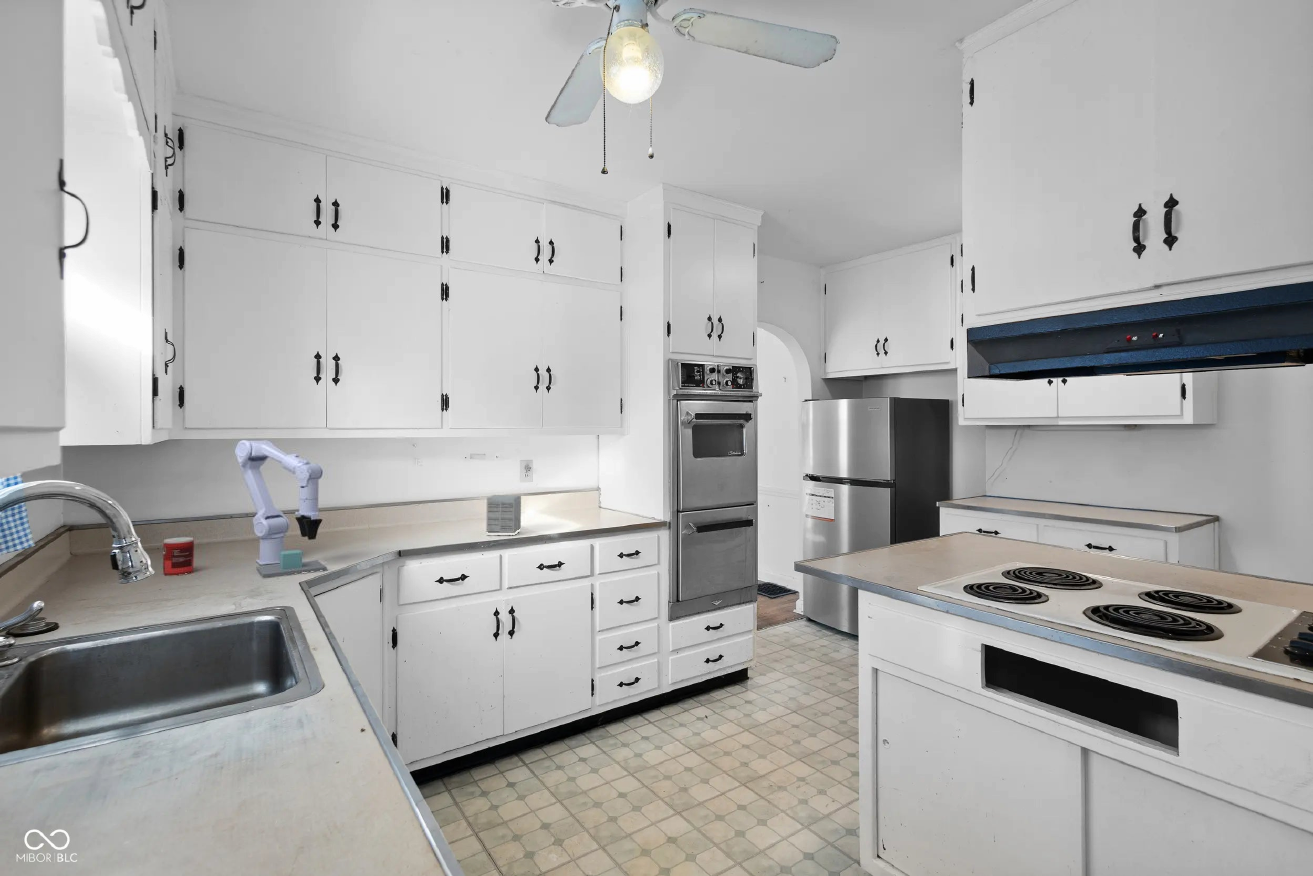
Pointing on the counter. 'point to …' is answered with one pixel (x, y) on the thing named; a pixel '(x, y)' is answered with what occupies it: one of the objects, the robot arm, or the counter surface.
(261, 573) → the stub plate
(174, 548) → the canned food
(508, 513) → the supplement box
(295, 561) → the housing cap
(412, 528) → the counter surface
